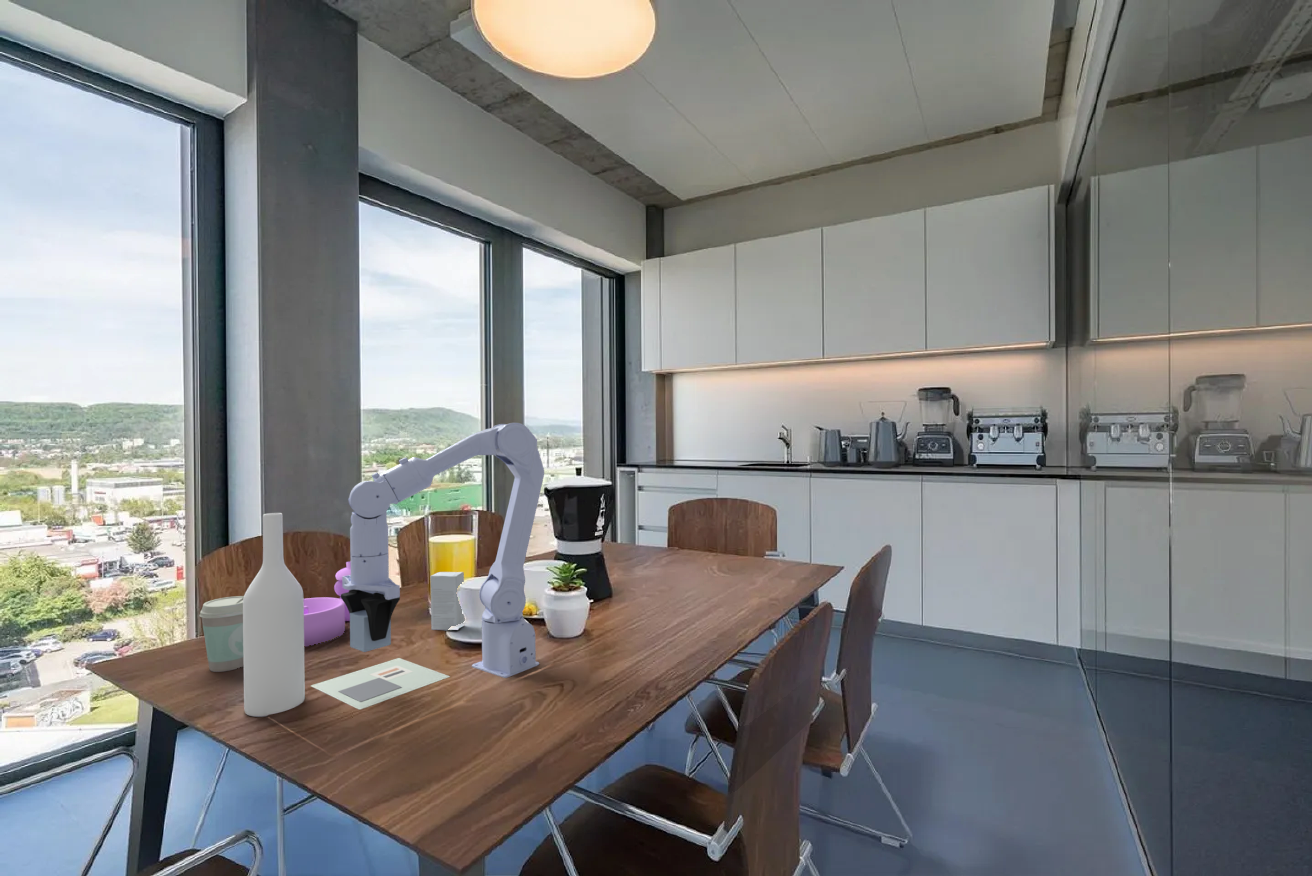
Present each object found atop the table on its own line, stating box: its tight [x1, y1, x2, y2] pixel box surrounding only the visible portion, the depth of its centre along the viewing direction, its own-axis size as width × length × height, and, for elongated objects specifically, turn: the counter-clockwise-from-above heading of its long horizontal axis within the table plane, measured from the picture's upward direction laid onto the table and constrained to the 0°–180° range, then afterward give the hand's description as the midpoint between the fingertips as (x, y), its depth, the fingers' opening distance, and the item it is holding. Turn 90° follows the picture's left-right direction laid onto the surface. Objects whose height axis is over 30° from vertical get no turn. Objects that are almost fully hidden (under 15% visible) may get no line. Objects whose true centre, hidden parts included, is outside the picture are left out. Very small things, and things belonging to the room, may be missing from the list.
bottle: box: [243, 512, 306, 718], centre depth 97 cm, size 8×8×30 cm
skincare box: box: [429, 571, 466, 632], centre depth 136 cm, size 6×4×12 cm
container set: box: [304, 560, 351, 647], centre depth 136 cm, size 25×15×13 cm, turn 165°
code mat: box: [310, 657, 451, 710], centre depth 106 cm, size 16×16×1 cm
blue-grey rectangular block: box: [349, 610, 392, 653], centre depth 102 cm, size 4×4×6 cm
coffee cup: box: [199, 595, 244, 673], centre depth 115 cm, size 8×9×12 cm
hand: (370, 636), depth 102 cm, fingers closed on blue-grey rectangular block, 4 cm apart
